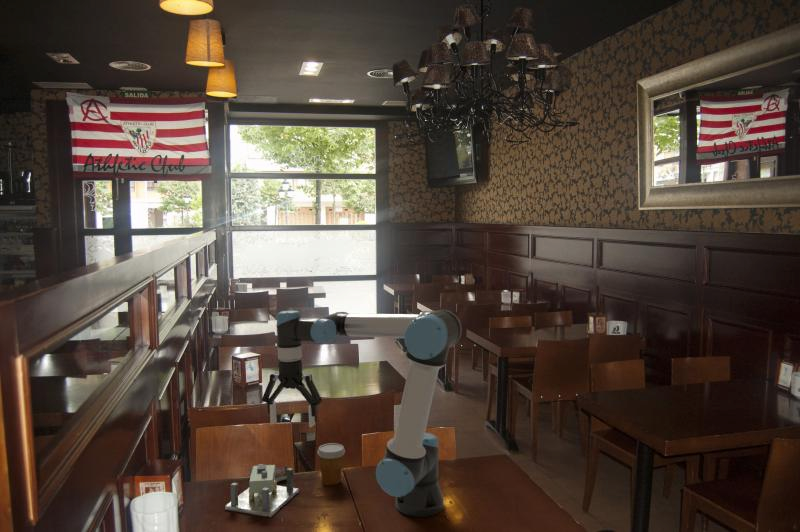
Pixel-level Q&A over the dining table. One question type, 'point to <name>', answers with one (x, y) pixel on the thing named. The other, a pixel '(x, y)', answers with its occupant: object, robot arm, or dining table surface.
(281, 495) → the chassis
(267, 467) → the board
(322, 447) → the disposable coffee cup
